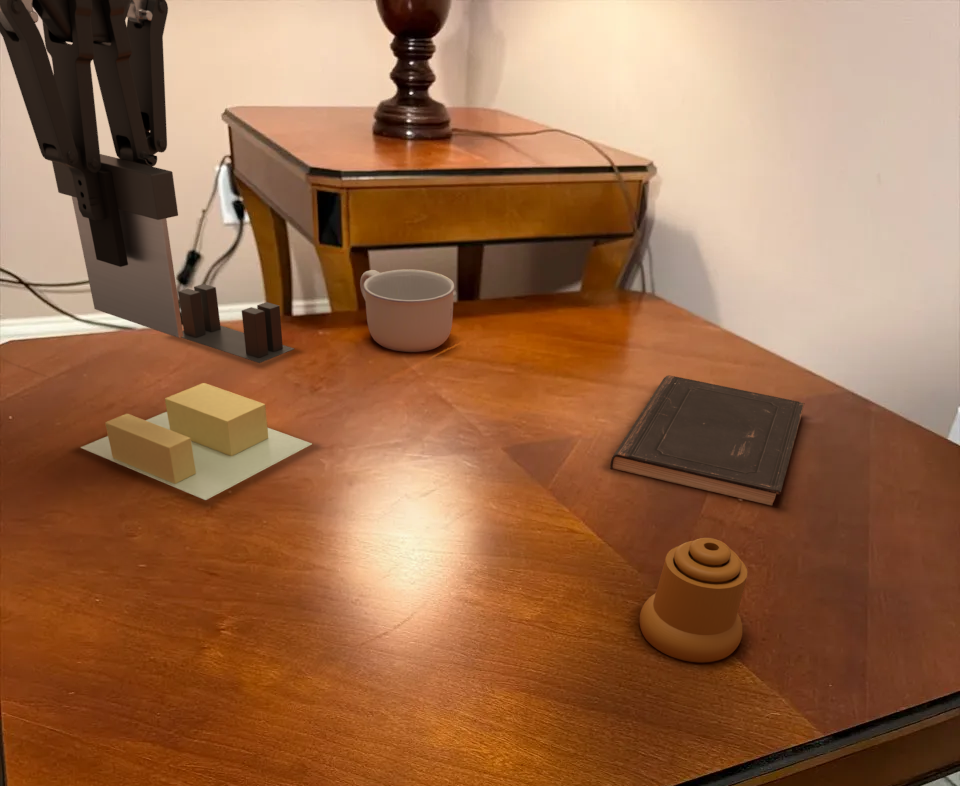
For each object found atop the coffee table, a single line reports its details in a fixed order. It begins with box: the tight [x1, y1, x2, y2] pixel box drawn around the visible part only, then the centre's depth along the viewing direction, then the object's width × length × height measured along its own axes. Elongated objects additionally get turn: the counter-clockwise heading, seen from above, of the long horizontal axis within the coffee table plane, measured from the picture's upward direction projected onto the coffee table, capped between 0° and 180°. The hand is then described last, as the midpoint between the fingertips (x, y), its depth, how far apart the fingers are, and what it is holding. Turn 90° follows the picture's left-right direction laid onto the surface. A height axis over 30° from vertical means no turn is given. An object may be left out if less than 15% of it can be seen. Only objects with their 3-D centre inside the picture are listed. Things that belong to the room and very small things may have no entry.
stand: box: [177, 283, 295, 364], centre depth 102 cm, size 14×6×6 cm, turn 58°
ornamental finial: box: [639, 537, 748, 664], centre depth 62 cm, size 8×8×8 cm
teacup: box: [359, 268, 455, 353], centre depth 107 cm, size 14×11×8 cm
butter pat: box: [104, 413, 196, 484], centre depth 77 cm, size 8×2×4 cm, turn 58°
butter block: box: [164, 382, 269, 456], centre depth 83 cm, size 8×5×4 cm, turn 58°
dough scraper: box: [51, 153, 184, 339], centre depth 68 cm, size 11×2×12 cm, turn 58°
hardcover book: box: [609, 374, 806, 506], centre depth 90 cm, size 16×23×2 cm
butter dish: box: [80, 411, 313, 501], centre depth 82 cm, size 16×14×1 cm
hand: (126, 258), depth 69 cm, fingers closed on dough scraper, 2 cm apart
